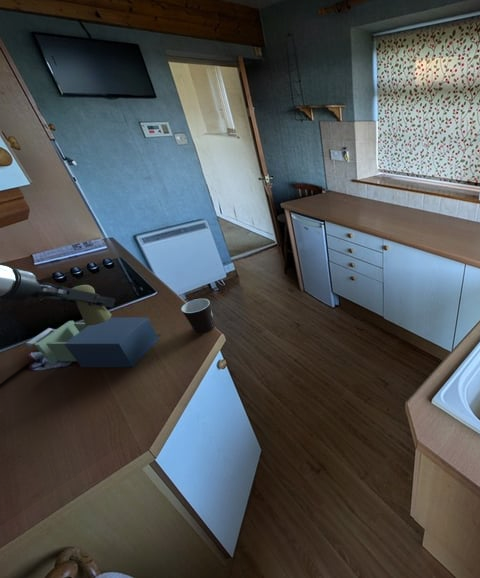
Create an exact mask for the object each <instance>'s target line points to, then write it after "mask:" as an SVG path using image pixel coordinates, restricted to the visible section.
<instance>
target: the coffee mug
mask: <svg viewBox="0 0 480 578" xmlns="http://www.w3.org/2000/svg"><path fill="white" fill-rule="evenodd" d="M181 312H182V314H183V315H184V317H185V318H186V320H187V321H188V323H189V325H190V326H191V328H192V329H193V331H194V333H196V334H199V335H203V334H207V333H208V332H209V333H210V332H211V331H213V329H214V328H215V321H214V316H213V310H212V306H211V301H210V300H209V299H207V298H196V299H192V300H189V301H188V302H186V303H184V304H183V305H182V306H181ZM212 325H213V326H212Z"/></svg>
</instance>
